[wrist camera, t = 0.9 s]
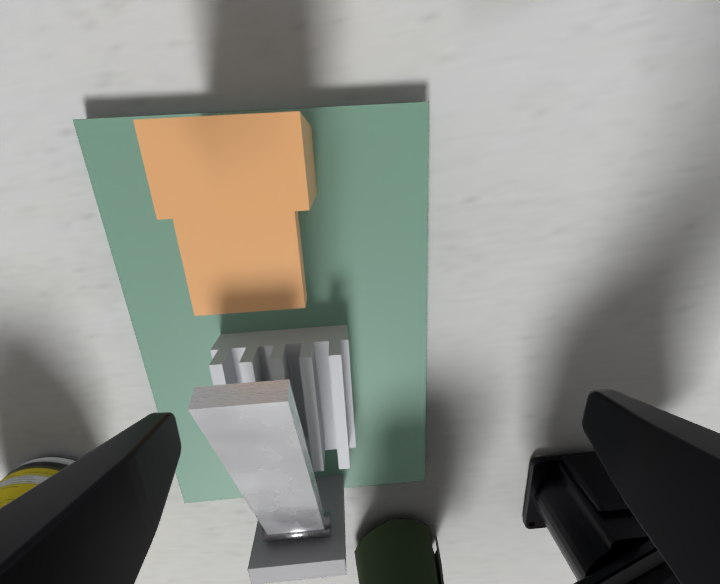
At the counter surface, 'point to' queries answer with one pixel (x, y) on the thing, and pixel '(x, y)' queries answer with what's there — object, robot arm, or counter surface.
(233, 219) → the orange stepped block
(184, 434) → the heatsink board
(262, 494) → the flat grey bar
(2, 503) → the pill bottle
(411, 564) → the character mug
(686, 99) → the counter surface
